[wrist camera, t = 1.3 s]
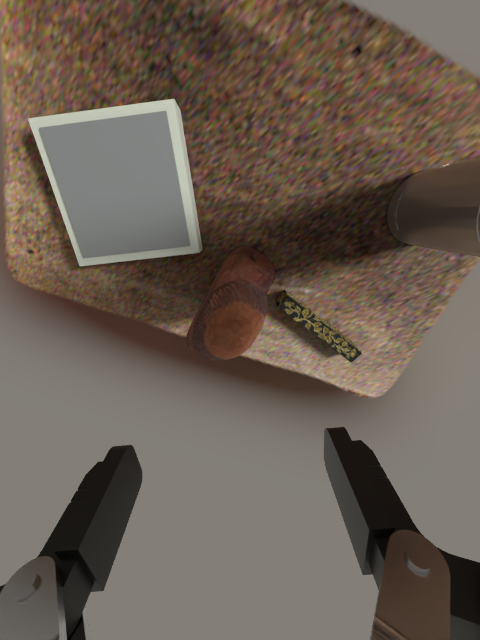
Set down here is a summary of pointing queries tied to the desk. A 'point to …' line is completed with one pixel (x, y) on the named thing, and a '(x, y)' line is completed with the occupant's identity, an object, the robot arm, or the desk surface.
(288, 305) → the decorative block
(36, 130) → the plinth
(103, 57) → the desk surface
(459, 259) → the desk surface
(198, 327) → the wooden figurine
